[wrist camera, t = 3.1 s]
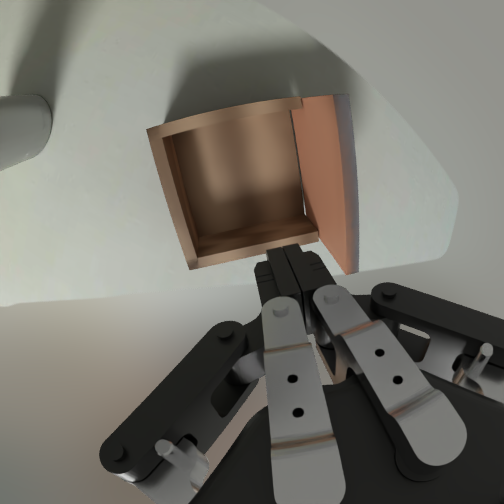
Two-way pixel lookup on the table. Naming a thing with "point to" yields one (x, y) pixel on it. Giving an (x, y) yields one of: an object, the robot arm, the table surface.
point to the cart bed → (233, 181)
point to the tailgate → (330, 174)
